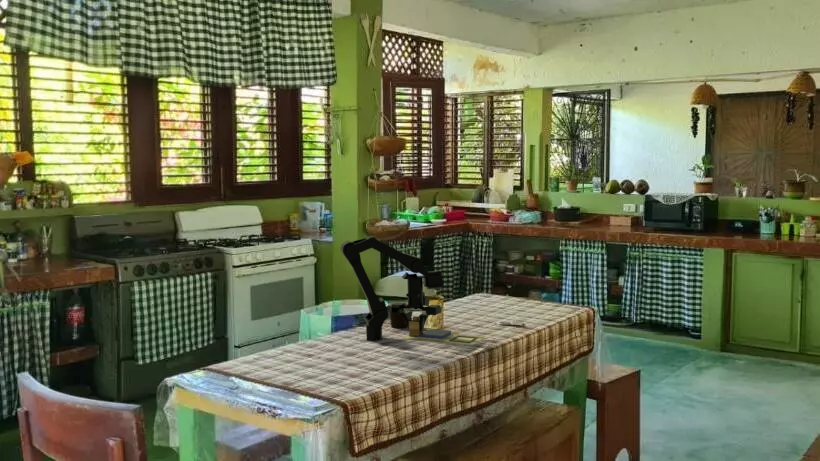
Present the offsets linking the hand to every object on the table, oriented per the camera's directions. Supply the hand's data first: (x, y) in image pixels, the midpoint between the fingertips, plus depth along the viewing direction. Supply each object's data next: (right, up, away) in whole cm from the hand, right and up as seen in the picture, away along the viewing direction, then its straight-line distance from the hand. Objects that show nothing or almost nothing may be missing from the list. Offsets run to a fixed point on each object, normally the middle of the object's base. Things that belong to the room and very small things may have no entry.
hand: (416, 331), depth 285 cm
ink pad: (+7, -2, -3) cm, 8 cm away
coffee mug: (-6, -1, +17) cm, 18 cm away
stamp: (0, -2, 0) cm, 2 cm away
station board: (+10, -3, -5) cm, 11 cm away
